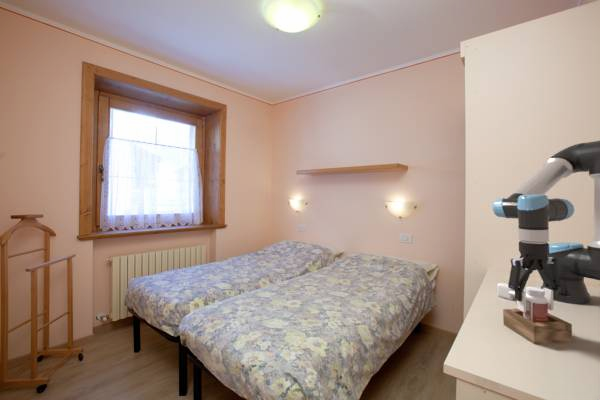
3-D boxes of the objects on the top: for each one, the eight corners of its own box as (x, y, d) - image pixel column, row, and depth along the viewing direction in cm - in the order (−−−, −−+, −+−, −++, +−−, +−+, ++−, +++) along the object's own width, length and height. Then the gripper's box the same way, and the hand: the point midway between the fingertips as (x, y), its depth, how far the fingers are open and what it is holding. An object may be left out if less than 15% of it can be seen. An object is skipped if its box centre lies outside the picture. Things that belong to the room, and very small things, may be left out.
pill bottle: (550, 322, 87) (550, 289, 87) (544, 328, 84) (545, 294, 83) (526, 315, 92) (526, 284, 92) (519, 320, 89) (520, 288, 88)
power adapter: (532, 303, 109) (532, 289, 109) (525, 305, 107) (525, 291, 107) (502, 294, 120) (502, 281, 119) (496, 296, 118) (495, 283, 117)
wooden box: (536, 322, 94) (536, 307, 94) (572, 341, 82) (571, 324, 82) (503, 324, 94) (503, 309, 94) (534, 344, 82) (533, 326, 82)
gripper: (553, 237, 91) (555, 302, 92) (493, 241, 91) (494, 306, 91) (577, 241, 84) (578, 312, 84) (511, 245, 83) (512, 316, 84)
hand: (535, 309), depth 88 cm, fingers open, 8 cm apart
